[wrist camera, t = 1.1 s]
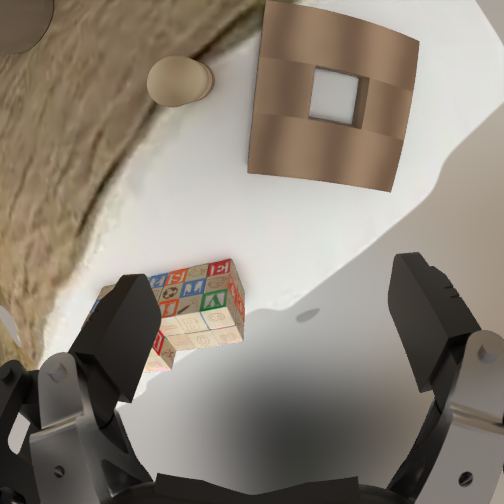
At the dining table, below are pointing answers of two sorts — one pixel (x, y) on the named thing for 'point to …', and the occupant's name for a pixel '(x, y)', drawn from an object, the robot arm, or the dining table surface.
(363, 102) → the board
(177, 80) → the peg
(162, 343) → the stack of blocks
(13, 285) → the dining table surface
